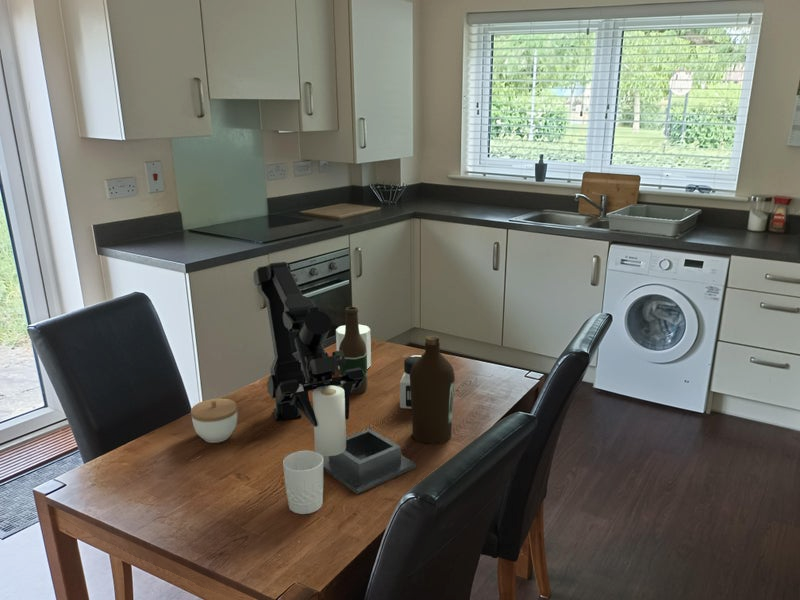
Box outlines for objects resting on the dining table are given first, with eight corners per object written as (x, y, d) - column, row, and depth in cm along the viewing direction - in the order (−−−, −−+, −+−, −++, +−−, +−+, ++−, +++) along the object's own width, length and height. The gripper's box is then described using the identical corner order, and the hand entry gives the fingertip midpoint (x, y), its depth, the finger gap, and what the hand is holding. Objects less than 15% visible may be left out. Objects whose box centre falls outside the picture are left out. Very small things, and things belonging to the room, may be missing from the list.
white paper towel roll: (308, 450, 140) (305, 393, 136) (328, 437, 145) (326, 382, 142) (332, 459, 136) (330, 401, 133) (352, 446, 142) (350, 389, 138)
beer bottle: (373, 387, 188) (371, 306, 181) (357, 397, 181) (354, 314, 175) (351, 381, 192) (348, 302, 185) (334, 391, 185) (331, 309, 179)
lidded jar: (185, 437, 160) (181, 402, 158) (223, 422, 168) (220, 388, 165) (209, 452, 153) (205, 415, 151) (248, 436, 161) (245, 400, 158)
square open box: (314, 463, 148) (313, 443, 147) (371, 440, 158) (371, 421, 156) (357, 494, 136) (356, 472, 135) (415, 467, 146) (415, 447, 145)
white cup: (308, 521, 128) (305, 475, 125) (277, 508, 132) (274, 463, 129) (333, 501, 134) (331, 456, 131) (303, 489, 138) (300, 446, 135)
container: (428, 410, 173) (428, 364, 170) (399, 408, 175) (399, 362, 171) (433, 398, 181) (433, 353, 177) (405, 396, 182) (405, 352, 178)
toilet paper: (340, 359, 209) (339, 323, 205) (373, 360, 208) (372, 324, 204) (334, 372, 199) (332, 334, 196) (368, 373, 198) (367, 335, 195)
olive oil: (411, 446, 155) (410, 345, 148) (409, 425, 166) (408, 330, 158) (456, 444, 156) (457, 344, 149) (451, 424, 166) (452, 329, 159)
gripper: (276, 346, 134) (295, 417, 127) (361, 332, 142) (383, 399, 135) (268, 368, 143) (285, 437, 136) (348, 354, 151) (369, 418, 144)
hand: (331, 422), depth 138 cm, fingers closed on white paper towel roll, 7 cm apart
